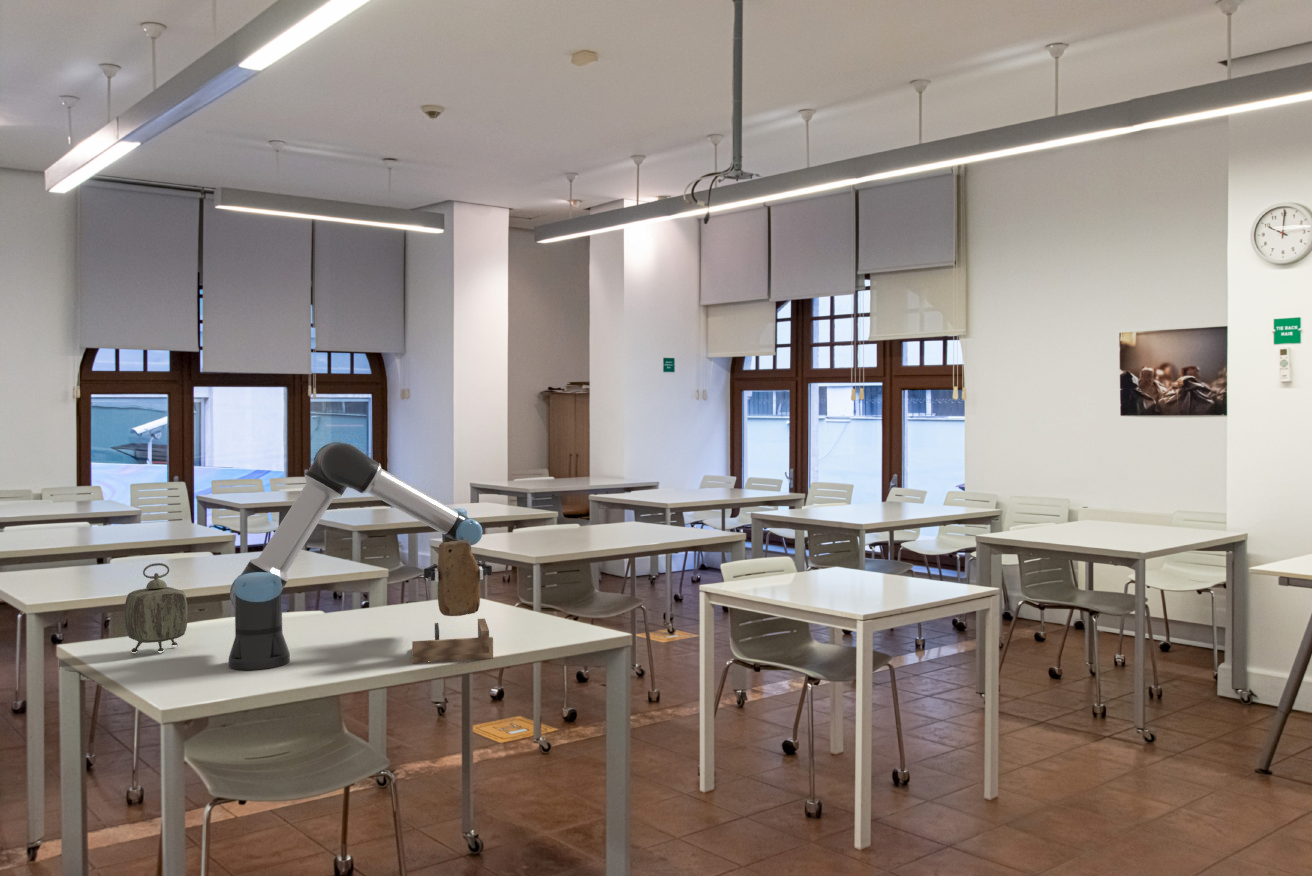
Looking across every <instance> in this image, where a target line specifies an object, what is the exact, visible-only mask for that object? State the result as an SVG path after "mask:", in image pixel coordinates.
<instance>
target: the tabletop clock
mask: <svg viewBox="0 0 1312 876" xmlns="http://www.w3.org/2000/svg"><path fill="white" fill-rule="evenodd" d="M157 566H162V567H165V568H166V569H167V571H166V572H165V573H163V574H161V575H159V573H158V572H155V573H154V575H153V576H152V575H147V574H146V571H147V570H148V569H149V568H151V567H157ZM169 573H170V568H169V566H168V565H167V564H165V563H163V562H162V563H160V562H155V563H151V564H148V565H147V566H146V567H144V568H143V570H142V575H143V576H144V577H146V578H148V579H152V580H149V582H148V583H147V584H146V587H145V588H141V589H136V590H133V591H131V592H129V593H127V596H126V599H125V602H124V603H125V604H124V617H123V618H124V625H125V626H124V627H125V631H126V634H127V637H128V638H130V639H131V640H133V641H136V642H137V644H136V645H135V647H133V648H132V649H131V651H132V652H136V651H139V647H140V646H141V644H142V643H143V644H144V643H145V644H151V643H158V647H159V648H158V649H157V652H158V651H163V650H164V651H165V649H164V647H162V643H163V642H166V641H167V642H168V641H171V643H170V644H171V645H177V646H178V642H176V641H175V640H176V639H179V638H181V637H183V636H184V635H185V633H186V631H187V628H188V618H189V610H188V609H189V607H188V600H187V596H186V593H185V591H184V590H181V589H178V588H174V587H170V586H168V585H167V583H166V581H164V580H163V579H162V578H164V577H166V576H168V574H169ZM132 652H131V653H132Z"/></svg>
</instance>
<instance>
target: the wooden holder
mask: <svg viewBox="0 0 1312 876" xmlns="http://www.w3.org/2000/svg"><path fill="white" fill-rule="evenodd" d="M488 626H489V625H488V623H487V621H486V618H477V637H466V638H446V639H440V628H439V627H440V626H439V622H434V639H430V640H426V639H425V640H413V641H411V645H412V648H411V649H412V655H411V656H412V664H420V663H419V662H426V663H429V662H428V661H442V662H452V661H453V662H455V661H471V660H472V659H473V660H482V659H483V660H486V659H489V660H490V659H494V637H493V636H490V630H489V627H488Z"/></svg>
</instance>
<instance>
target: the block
mask: <svg viewBox="0 0 1312 876" xmlns="http://www.w3.org/2000/svg"><path fill="white" fill-rule="evenodd" d="M477 563H478V562H477V561H476V557H475V556H474V554H473V553H472V545H471V544H470V541H464V540H460V541H450V542H443V543H442V542H441V543H440V544H439V546H438V558H437V565H438V582H437V601H438V602H437V603H438V609H439V612H440V613H441V614H442V615H443V616H446V617H461V616H467V615H471V614H475V613H477V612H478V611H479V608H480V605H481V604H480V603H481V580H480V573H479V567H478V565H477Z"/></svg>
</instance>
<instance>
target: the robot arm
mask: <svg viewBox="0 0 1312 876" xmlns="http://www.w3.org/2000/svg"><path fill="white" fill-rule="evenodd" d="M304 478H305V485H304V487H303V488H302V490H301V491H300V493H299V494H298V495H297V497H296V499H295V500H294V502H293V504H292V505H291V507H290V508H289V510H288V511H287V513H286V514H285V516H284V518H283V519H282V520H281V522H280V524H279V525H278V527H277V528H276V530H275V531H274V533H273V534H272V537H271V538H270V539H269V540H268V542H267V544H266V545H265V547H264V548H263V550H262V552H261V553H260V555H259V556H258V557H256V558H253V559H252V558H251V559H250V560H249V561H248V563H247V565H246V566H245V568H244V570H243V571H242V573H240V575H238V576H237V577H236V578H235V579H234V580H233V582H232V584H231V586H230V590H229V591H230V592H229V599H230V601H231V605H232V606H233V608H234V625H235V626H234V628H235V629H234V630H235V631H234V635H235V636H234V640H233V643H232V646H231V649H230V653H229V656H228V668H230V667H231V668H230V669H232V668H235V669H234V670H239V671H241V670H242V671H243V670H244V671H245V670H247V671H248V670H249V671H255V670H263V669H264V670H265V669H271V668H276V667H281V666H283V665H287V664H289V663H290V661H291V659H290V658H291V657H290V656H291V655H290V653H291V652H290V650H289V647H288V644H287V642H286V640H285V636H284V634H283V600H282V599H283V597H282V595H283V594H282V591H283V589H284V588H285V587H286V585H287V583H288V582H289V577H288V574H287V573H288V571H289V569H290V568H291V566H292V565H293V563H294V562H295V561H296V559H297V557H298V556H299V553H300V552H301V550H302V549H303V547H304V546H305V544H306V543H307V541H308V540H309V538H310V536H311V535H312V534H313V532H314V530H315V529H316V527H317V525H318V524H319V522H320V520H321V519H322V518H323V516H324V514H325V513H326V511H327V509H328V508H329V506H330V505H331V503H332V502H333V500H335V499H336V498H337V499H338V498H341V497H342V496H343V495H344V492H346V490H347V488H350V489H351V490H352V489H353V490H354V491H357V492H358V493H360V494H366V493H368V494H369V495H371V496H373V497H375V498H377V499H379V500H380V501H383V502H384V503H386V504H388V505H390V506H391V507H393V508H395V509H396V510H399V511H401V513H405V514H406V515H408V516H410V517H412V518H413V519H416V520H417V521H419V522H420V523H423V524H425V525H427V526H429V527H430V528H432V529H434V530H435V531H437V532H439V533H441V539H442V540H441V543H443V542H450V541H460V540H464V541H470V544H471V546H475V545H477V544H478V543H480V541H481V539H482V537H483V527H482V525H481V524H480V523H479V522H478V521H477V520H476V519H473V518H470V517H468V512H467V510H466V509H465V508H452V507H450V506H449V505H446V504H445V503H443V502H441V501H439V500H438V499H437V498H434V497H433V496H430V495H429V494H428V493H425V492H424V491H422V490H421V489H419V488H416V486H413V485H411V484H409V483H408V482H406V481H404V480H402V479H401V478H400V477H398V476H395V475H393V474H392V473H390V472H389V471H387V470H385V469H383V468H382V464H381V463H380V462H378V461H376V460H375V459H373V458H371V457H370V456H369V455H367V454H365V453H364V452H363V451H362V450H361V449H359V448H358V447H356V446H354V445H352V444H350V443H347V442H339V441H335V442H330V443H327V444H324V445H323V446H322V447H320V448H319V449H318V450H317V452H316V453H315V455H314V458H313V463H312V464H311V465H310V466H309V468H308V470H307V471H306V473H305V475H304ZM476 563H477V565H478V567H479V573H480V581H481V580H484V577H485V576H492V575H493V566H492V565H490V564H486V563H482V562H480V561H478V562H476ZM423 578H424V579H429V578H430V581H431V582H433V581H435V583H438V563H437V564H436V563H433V564H432V565H430V566H428V567H425V568H423Z"/></svg>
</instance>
